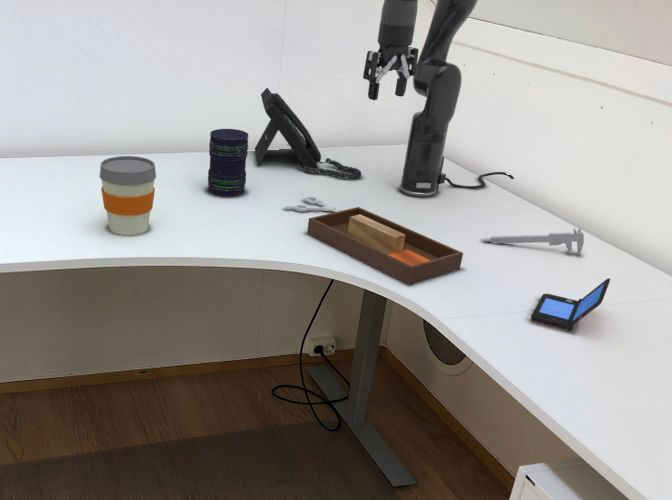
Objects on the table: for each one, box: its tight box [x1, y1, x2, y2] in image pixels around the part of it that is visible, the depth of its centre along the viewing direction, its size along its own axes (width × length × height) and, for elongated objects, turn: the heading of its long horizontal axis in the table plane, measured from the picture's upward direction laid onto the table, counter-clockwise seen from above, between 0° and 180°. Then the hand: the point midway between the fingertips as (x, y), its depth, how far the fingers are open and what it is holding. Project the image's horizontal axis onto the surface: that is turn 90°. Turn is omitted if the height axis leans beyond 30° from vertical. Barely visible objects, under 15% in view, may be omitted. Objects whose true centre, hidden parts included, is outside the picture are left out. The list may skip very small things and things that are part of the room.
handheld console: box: [530, 277, 611, 332], centre depth 149 cm, size 12×11×7 cm
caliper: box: [484, 227, 585, 256], centre depth 178 cm, size 20×1×6 cm, turn 71°
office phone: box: [254, 87, 362, 180], centre depth 225 cm, size 29×28×20 cm
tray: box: [306, 206, 464, 286], centre depth 175 cm, size 16×32×4 cm, turn 34°
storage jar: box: [207, 128, 249, 198], centre depth 203 cm, size 10×10×15 cm
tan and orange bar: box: [347, 215, 430, 266], centre depth 173 cm, size 6×22×4 cm, turn 34°
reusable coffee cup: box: [99, 155, 157, 236], centre depth 179 cm, size 13×13×15 cm
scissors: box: [285, 196, 344, 213], centre depth 196 cm, size 11×1×20 cm
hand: (386, 97), depth 181 cm, fingers open, 8 cm apart
